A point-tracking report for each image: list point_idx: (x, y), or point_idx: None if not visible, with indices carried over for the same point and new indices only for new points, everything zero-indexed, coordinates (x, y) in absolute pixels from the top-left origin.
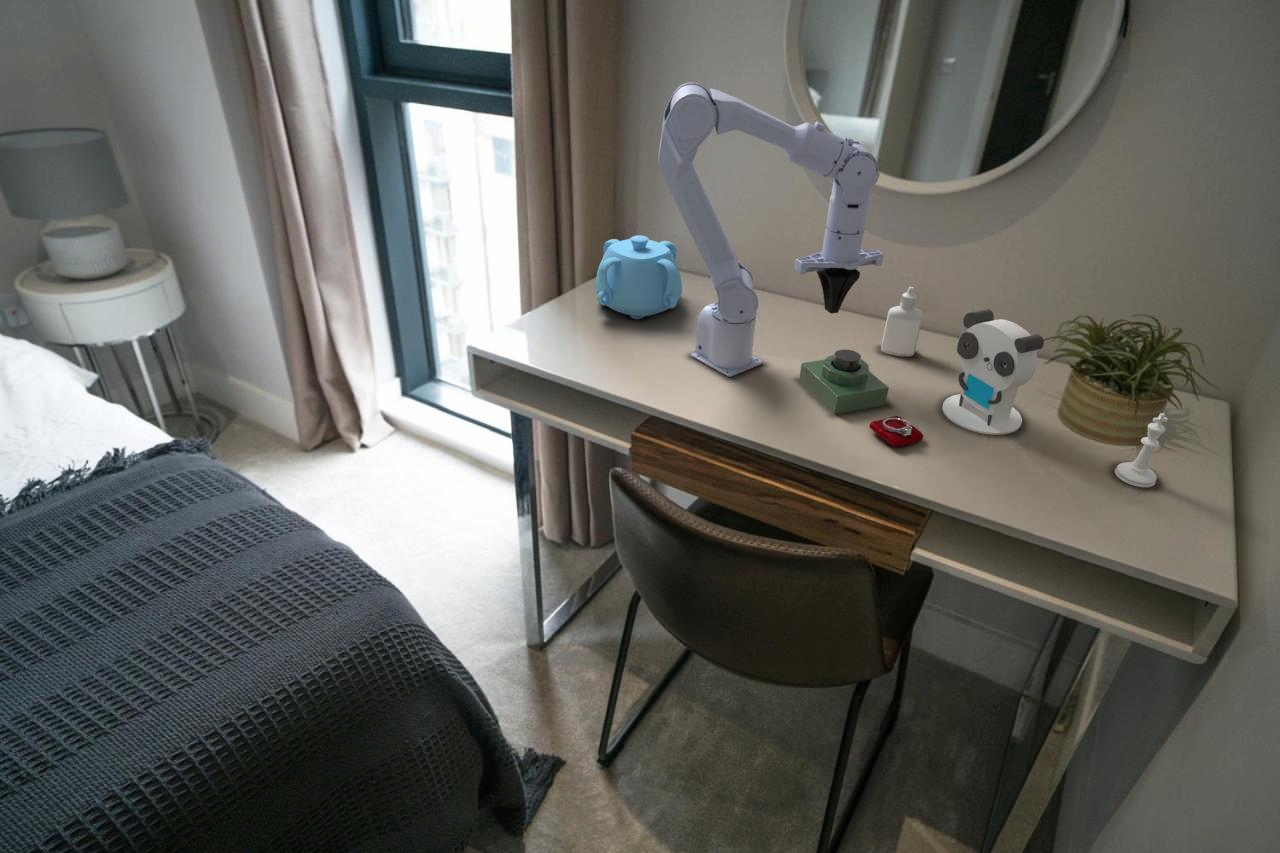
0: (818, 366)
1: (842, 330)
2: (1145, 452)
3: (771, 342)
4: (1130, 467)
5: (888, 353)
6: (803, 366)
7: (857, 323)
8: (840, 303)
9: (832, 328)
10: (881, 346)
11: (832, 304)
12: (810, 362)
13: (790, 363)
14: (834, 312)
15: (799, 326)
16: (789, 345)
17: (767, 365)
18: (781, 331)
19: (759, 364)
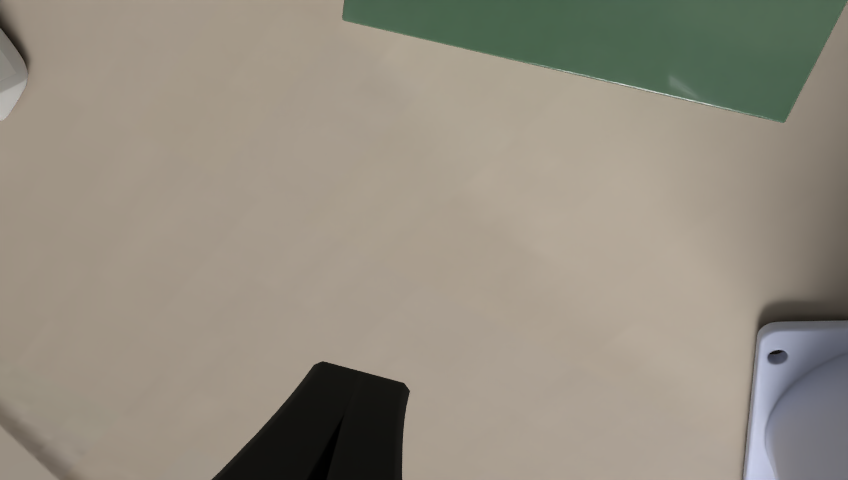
0: (723, 3)
1: (123, 336)
2: None
3: (519, 430)
4: None
5: (2, 33)
6: (799, 84)
7: (22, 342)
8: (283, 442)
9: (159, 369)
10: (11, 100)
11: (400, 476)
12: (717, 92)
13: (608, 249)
14: (366, 377)
15: None
16: (461, 371)
17: (743, 298)
18: None
19: (795, 322)
